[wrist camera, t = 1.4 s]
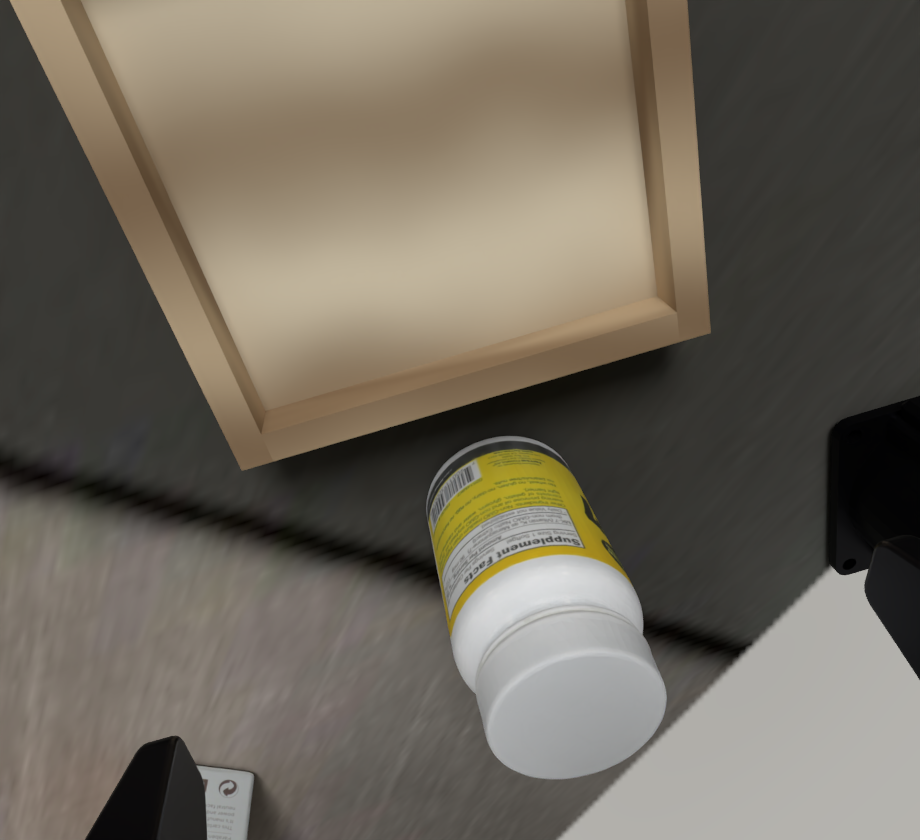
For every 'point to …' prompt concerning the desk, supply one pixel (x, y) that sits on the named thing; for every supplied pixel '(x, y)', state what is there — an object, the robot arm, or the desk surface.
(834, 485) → the robot arm
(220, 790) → the skincare box
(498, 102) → the wooden tray
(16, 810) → the desk surface
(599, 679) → the supplement bottle
